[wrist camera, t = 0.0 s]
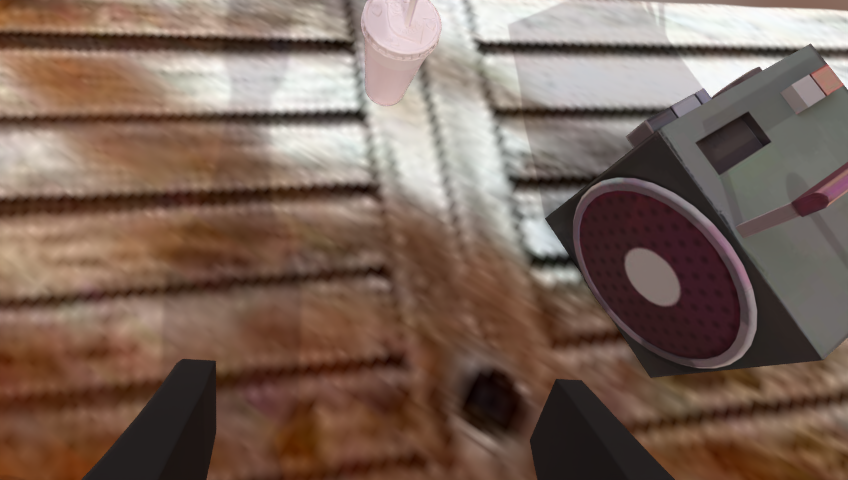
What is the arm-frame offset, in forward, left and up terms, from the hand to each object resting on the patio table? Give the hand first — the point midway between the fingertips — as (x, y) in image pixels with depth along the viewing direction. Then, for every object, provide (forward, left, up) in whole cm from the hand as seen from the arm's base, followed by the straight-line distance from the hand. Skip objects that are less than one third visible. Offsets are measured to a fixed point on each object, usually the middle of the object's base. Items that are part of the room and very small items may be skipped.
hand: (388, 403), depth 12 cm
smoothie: (+29, -3, -32) cm, 44 cm away
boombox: (+15, -31, -32) cm, 47 cm away
